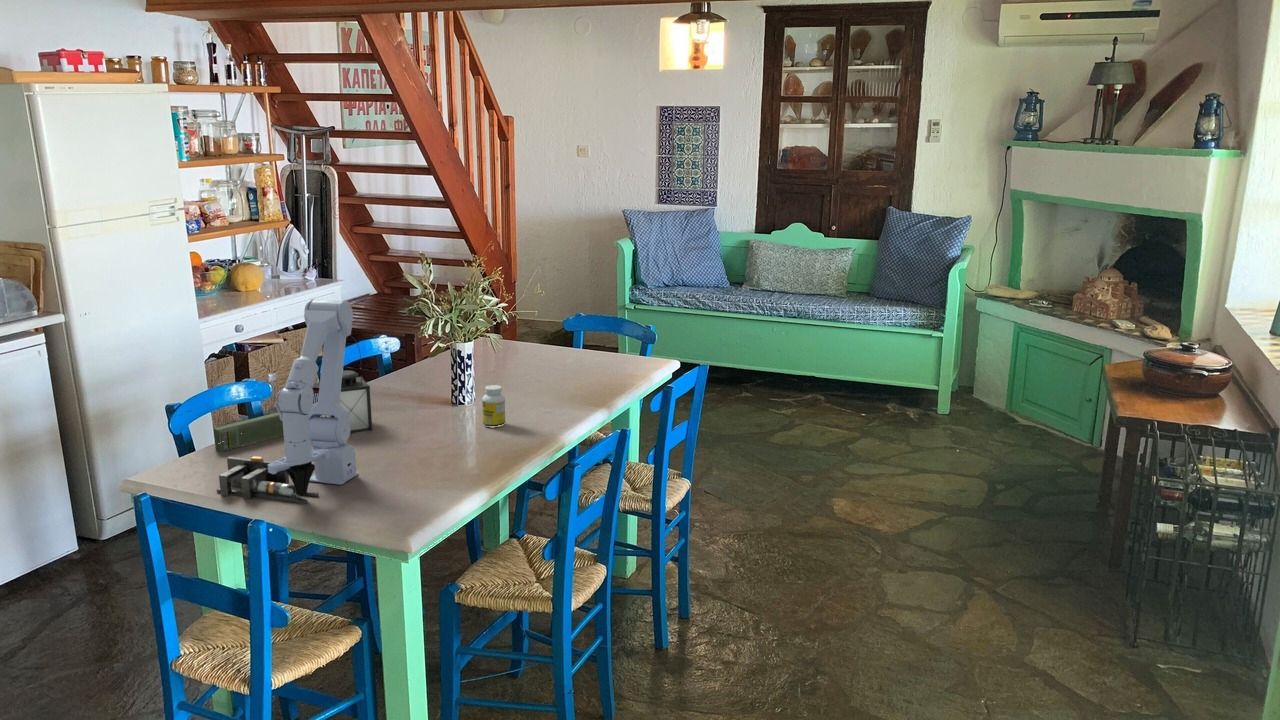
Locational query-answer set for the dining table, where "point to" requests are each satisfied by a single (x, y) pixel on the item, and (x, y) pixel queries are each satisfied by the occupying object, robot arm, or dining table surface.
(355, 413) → the lantern
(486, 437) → the dining table surface
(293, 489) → the tube
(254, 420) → the handheld radio
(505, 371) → the dining table surface
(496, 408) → the pill bottle
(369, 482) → the dining table surface
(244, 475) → the collar fixture
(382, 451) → the dining table surface
